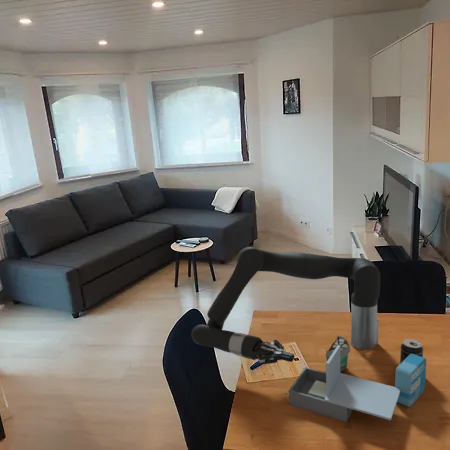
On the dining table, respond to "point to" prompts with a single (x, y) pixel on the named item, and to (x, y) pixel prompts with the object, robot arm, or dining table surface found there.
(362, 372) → the dining table surface
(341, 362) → the food container
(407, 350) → the beverage can
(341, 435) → the dining table surface
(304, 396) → the box
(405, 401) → the data package
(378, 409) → the lid
